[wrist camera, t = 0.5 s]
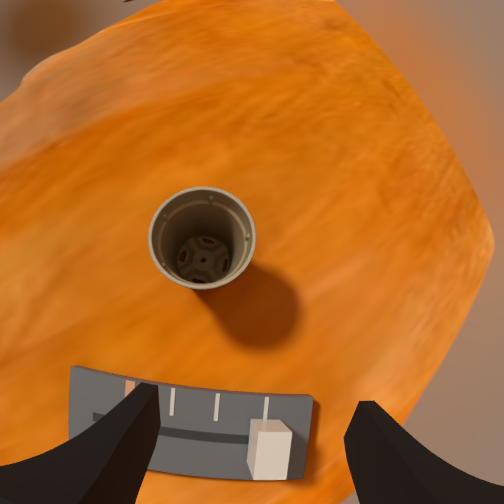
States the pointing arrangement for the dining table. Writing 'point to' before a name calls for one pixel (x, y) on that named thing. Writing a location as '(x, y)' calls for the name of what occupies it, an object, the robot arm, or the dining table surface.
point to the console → (196, 422)
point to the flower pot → (202, 237)
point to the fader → (268, 449)
